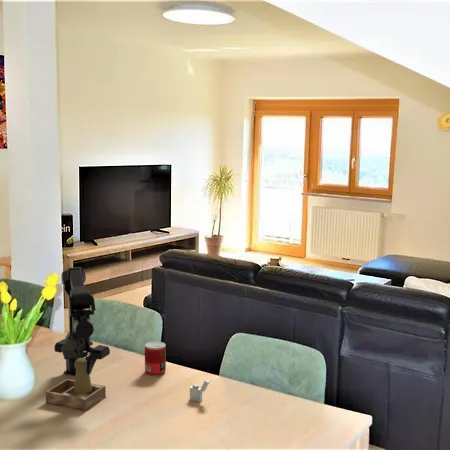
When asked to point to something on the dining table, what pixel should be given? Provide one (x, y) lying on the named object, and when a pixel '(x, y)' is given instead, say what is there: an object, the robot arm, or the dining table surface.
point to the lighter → (198, 391)
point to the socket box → (74, 396)
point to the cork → (82, 377)
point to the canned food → (155, 358)
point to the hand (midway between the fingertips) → (82, 373)
